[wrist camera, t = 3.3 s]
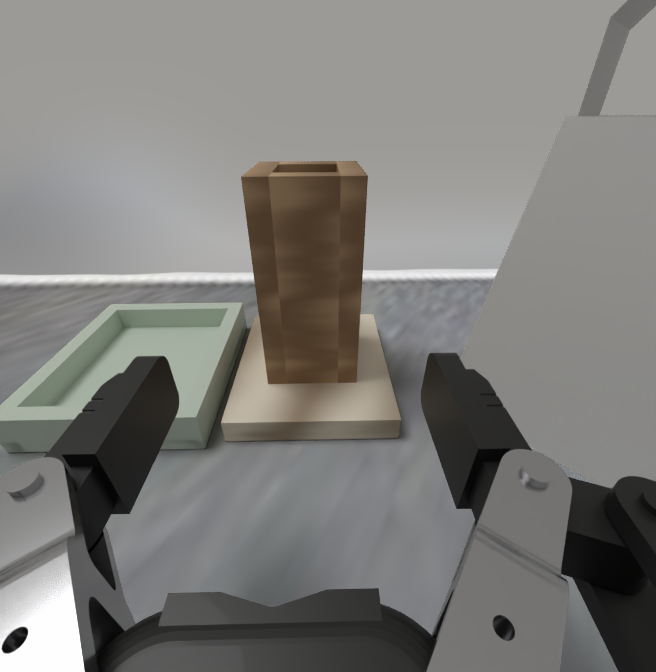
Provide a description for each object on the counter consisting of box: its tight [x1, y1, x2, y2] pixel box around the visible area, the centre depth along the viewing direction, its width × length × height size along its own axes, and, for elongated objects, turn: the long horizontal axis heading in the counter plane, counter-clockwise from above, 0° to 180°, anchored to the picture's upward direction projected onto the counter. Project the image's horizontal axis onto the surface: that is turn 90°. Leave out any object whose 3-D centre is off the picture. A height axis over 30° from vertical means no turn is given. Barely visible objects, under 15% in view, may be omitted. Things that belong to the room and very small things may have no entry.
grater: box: [460, 0, 656, 488], centre depth 17 cm, size 10×10×20 cm
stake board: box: [221, 314, 401, 441], centre depth 23 cm, size 10×12×8 cm
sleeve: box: [241, 161, 368, 384], centre depth 21 cm, size 6×6×12 cm
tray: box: [0, 303, 247, 452], centre depth 24 cm, size 11×13×2 cm
